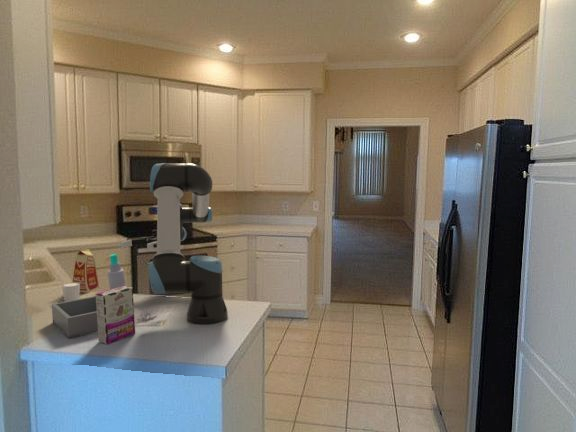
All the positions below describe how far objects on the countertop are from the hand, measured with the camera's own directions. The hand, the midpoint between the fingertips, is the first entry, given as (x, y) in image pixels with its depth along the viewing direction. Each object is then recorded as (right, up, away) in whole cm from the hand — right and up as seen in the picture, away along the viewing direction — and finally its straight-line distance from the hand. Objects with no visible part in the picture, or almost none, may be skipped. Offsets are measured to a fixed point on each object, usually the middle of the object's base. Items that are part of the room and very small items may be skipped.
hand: (134, 246), depth 182 cm
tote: (-8, -26, -28) cm, 39 cm away
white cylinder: (-27, -24, +2) cm, 36 cm away
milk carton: (-29, -22, +19) cm, 41 cm away
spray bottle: (-3, -24, -8) cm, 26 cm away
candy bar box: (+9, -28, -40) cm, 49 cm away
